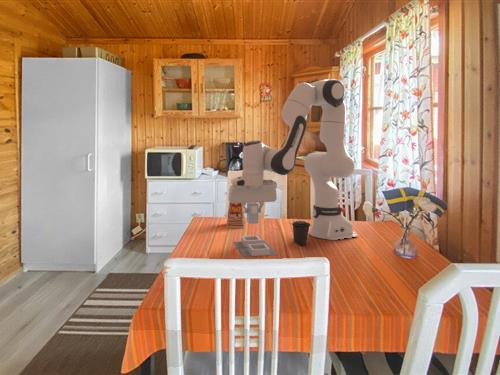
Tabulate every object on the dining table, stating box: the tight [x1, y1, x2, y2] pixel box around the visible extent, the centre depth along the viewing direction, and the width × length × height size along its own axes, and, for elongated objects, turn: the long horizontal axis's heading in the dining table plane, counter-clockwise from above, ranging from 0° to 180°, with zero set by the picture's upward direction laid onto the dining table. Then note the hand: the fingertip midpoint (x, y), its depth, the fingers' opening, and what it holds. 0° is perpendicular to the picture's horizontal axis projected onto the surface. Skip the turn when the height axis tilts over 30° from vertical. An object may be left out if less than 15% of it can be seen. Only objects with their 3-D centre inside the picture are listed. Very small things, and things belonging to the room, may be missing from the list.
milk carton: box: [226, 202, 246, 229], centre depth 203 cm, size 9×9×20 cm
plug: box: [246, 202, 260, 225], centre depth 169 cm, size 4×5×8 cm
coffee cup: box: [291, 220, 311, 247], centre depth 175 cm, size 8×8×10 cm
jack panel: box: [233, 234, 279, 258], centre depth 165 cm, size 14×20×4 cm
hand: (252, 212), depth 169 cm, fingers closed on plug, 4 cm apart
